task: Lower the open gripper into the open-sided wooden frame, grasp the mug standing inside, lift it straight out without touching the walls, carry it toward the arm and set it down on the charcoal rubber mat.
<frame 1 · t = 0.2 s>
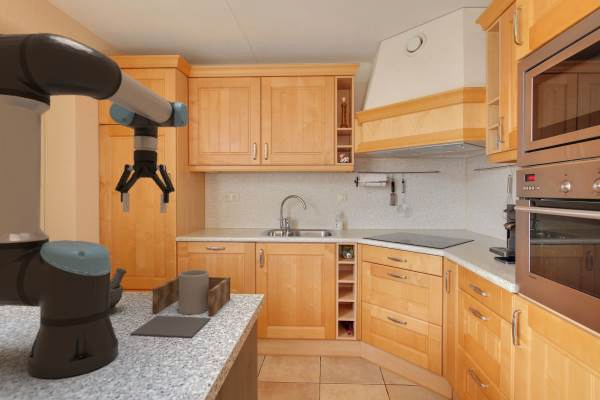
hand: (144, 212, 119), 28 cm above the countertop, fingers open, 13 cm apart
open-sided wooden frame: (190, 308, 104), on the countertop
mortar and pestle: (105, 312, 100), on the countertop
mug: (190, 309, 104), on the countertop
mat: (173, 326, 89), on the countertop
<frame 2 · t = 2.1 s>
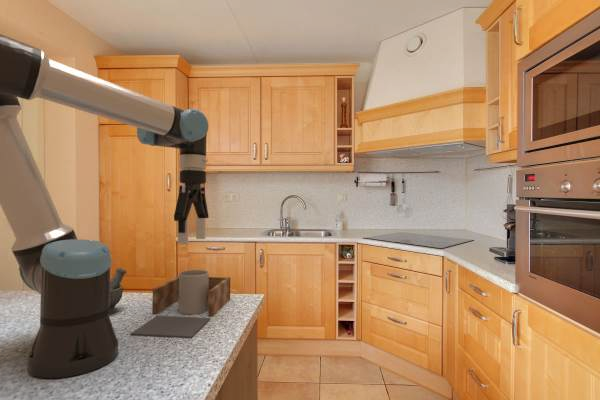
hand: (192, 241, 104), 20 cm above the countertop, fingers open, 13 cm apart
nothing on the countertop moved.
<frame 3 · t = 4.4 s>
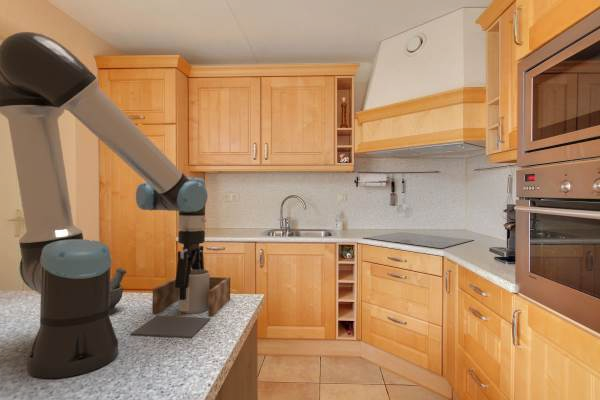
hand: (190, 305, 104), 1 cm above the countertop, fingers closed on mug, 9 cm apart
mug: (191, 308, 104), on the countertop, touching gripper
everything else where it was.
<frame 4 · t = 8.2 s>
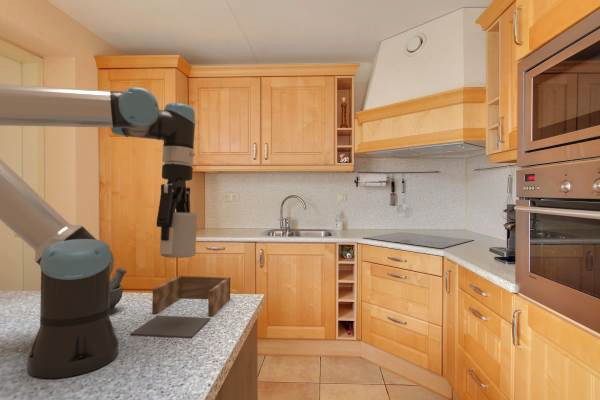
hand: (173, 251, 90), 19 cm above the countertop, fingers closed on mug, 9 cm apart
mug: (174, 255, 91), point 18 cm above the countertop, touching gripper
everything else where it was.
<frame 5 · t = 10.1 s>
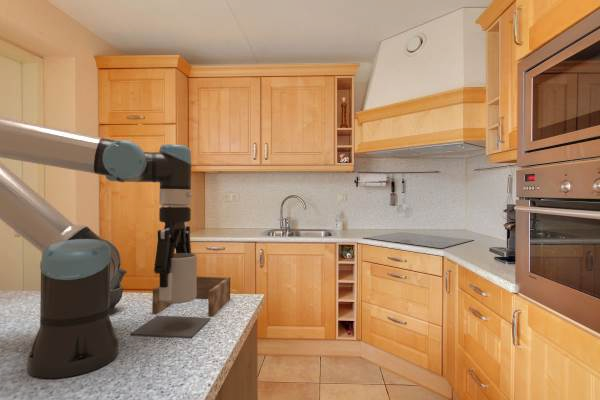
hand: (174, 294, 89), 8 cm above the countertop, fingers closed on mug, 9 cm apart
mug: (175, 298, 90), point 7 cm above the countertop, touching gripper
everything else where it was.
when the fingers open (3 cm above the countertop, at t = 11.8 s): mug drops 2 cm, resting on mat.
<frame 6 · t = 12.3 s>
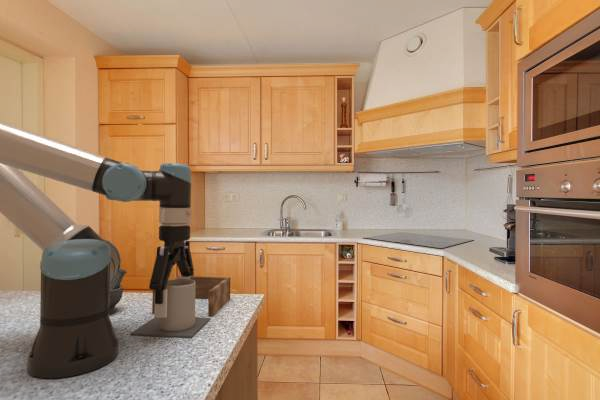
hand: (173, 308, 89), 5 cm above the countertop, fingers open, 13 cm apart
mug: (174, 324, 90), resting on mat
everything else where it was.
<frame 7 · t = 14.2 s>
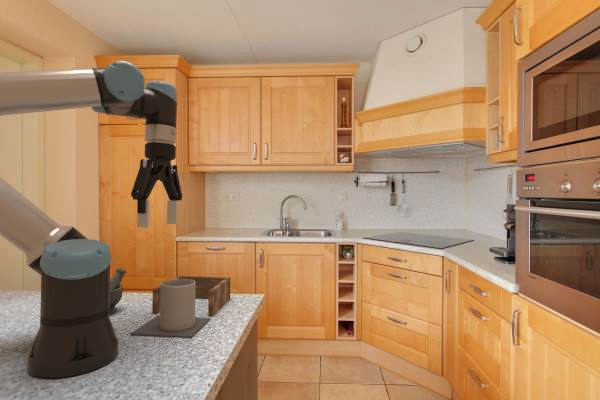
hand: (158, 225, 90), 26 cm above the countertop, fingers open, 13 cm apart
nothing on the countertop moved.
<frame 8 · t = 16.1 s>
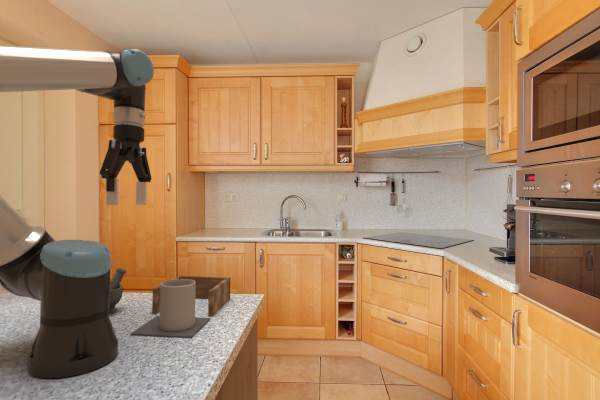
hand: (127, 205, 94), 31 cm above the countertop, fingers open, 13 cm apart
nothing on the countertop moved.
at the end: mug inside the target area on the mat (0.9 cm from its centre), point 0.2 cm above the mat's base; mug tilted 0°; mug touching mat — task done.
